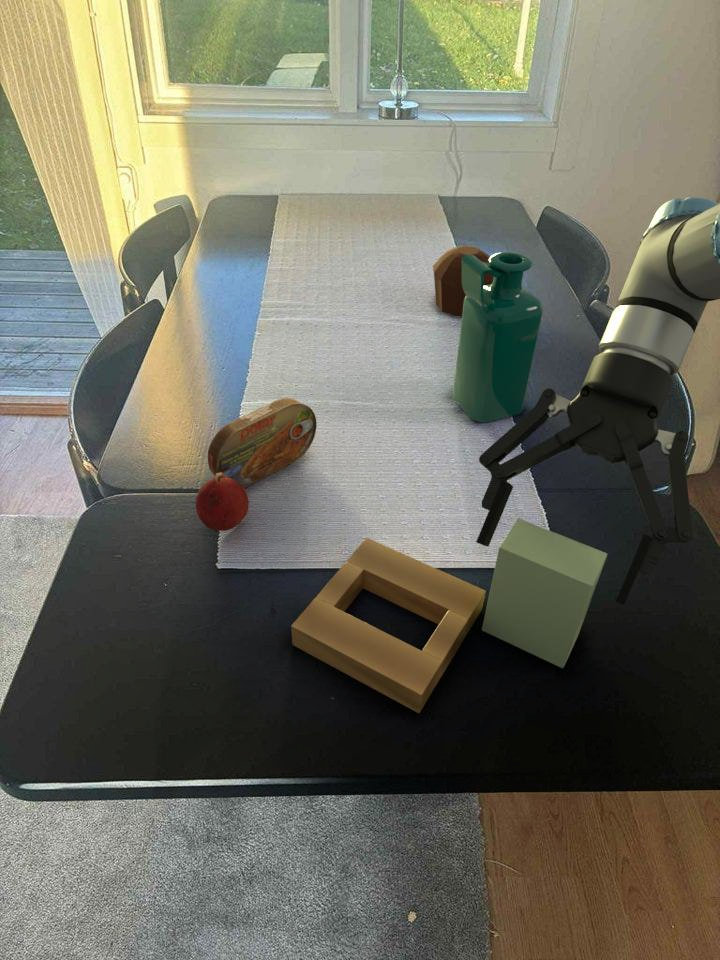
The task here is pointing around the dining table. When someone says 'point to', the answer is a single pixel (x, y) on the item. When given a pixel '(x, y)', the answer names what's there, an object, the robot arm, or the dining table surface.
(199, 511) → the onion
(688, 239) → the robot arm
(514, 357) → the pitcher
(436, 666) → the mount block
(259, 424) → the tin
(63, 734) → the dining table surface
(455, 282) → the brown wooden arched block
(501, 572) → the pale green block
